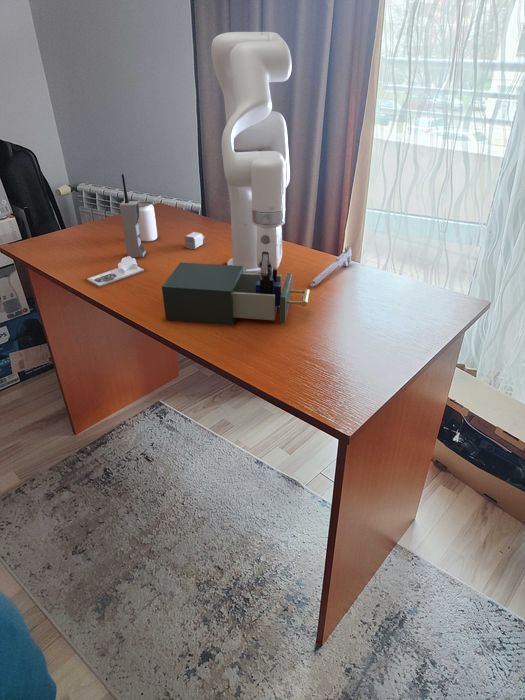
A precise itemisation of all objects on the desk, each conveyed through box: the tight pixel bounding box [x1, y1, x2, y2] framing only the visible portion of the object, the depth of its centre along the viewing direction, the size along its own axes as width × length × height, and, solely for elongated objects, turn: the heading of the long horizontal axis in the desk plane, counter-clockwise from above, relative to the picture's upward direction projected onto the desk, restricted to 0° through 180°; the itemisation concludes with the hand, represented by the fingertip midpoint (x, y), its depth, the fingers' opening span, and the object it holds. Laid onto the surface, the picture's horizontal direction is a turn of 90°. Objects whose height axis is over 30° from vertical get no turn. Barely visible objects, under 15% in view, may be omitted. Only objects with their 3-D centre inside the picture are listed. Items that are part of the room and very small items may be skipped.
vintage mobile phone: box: [118, 173, 147, 259], centre depth 151 cm, size 4×5×25 cm
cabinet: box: [161, 262, 244, 326], centre depth 125 cm, size 17×15×9 cm
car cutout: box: [86, 255, 145, 288], centre depth 144 cm, size 15×7×4 cm, turn 137°
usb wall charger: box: [184, 231, 206, 250], centre depth 164 cm, size 4×7×4 cm, turn 150°
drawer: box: [232, 272, 311, 325], centre depth 123 cm, size 20×14×7 cm, turn 81°
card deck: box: [256, 281, 282, 307], centre depth 124 cm, size 6×2×5 cm, turn 81°
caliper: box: [309, 245, 353, 287], centre depth 142 cm, size 20×1×6 cm, turn 141°
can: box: [138, 200, 158, 243], centre depth 167 cm, size 6×6×12 cm
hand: (268, 288), depth 122 cm, fingers open, 5 cm apart
